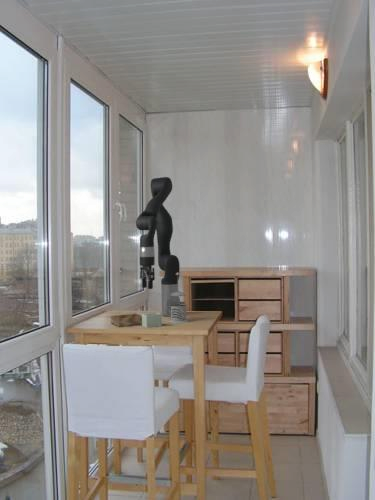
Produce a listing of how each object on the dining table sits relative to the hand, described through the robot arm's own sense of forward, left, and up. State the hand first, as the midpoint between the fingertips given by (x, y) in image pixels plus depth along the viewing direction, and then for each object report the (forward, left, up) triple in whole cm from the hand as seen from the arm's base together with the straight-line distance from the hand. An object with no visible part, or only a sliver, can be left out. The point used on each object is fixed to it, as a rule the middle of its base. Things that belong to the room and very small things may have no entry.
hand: (147, 288), depth 275 cm
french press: (-14, +4, -18) cm, 23 cm away
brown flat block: (+10, -3, -18) cm, 20 cm away
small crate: (+2, +9, -18) cm, 20 cm away
